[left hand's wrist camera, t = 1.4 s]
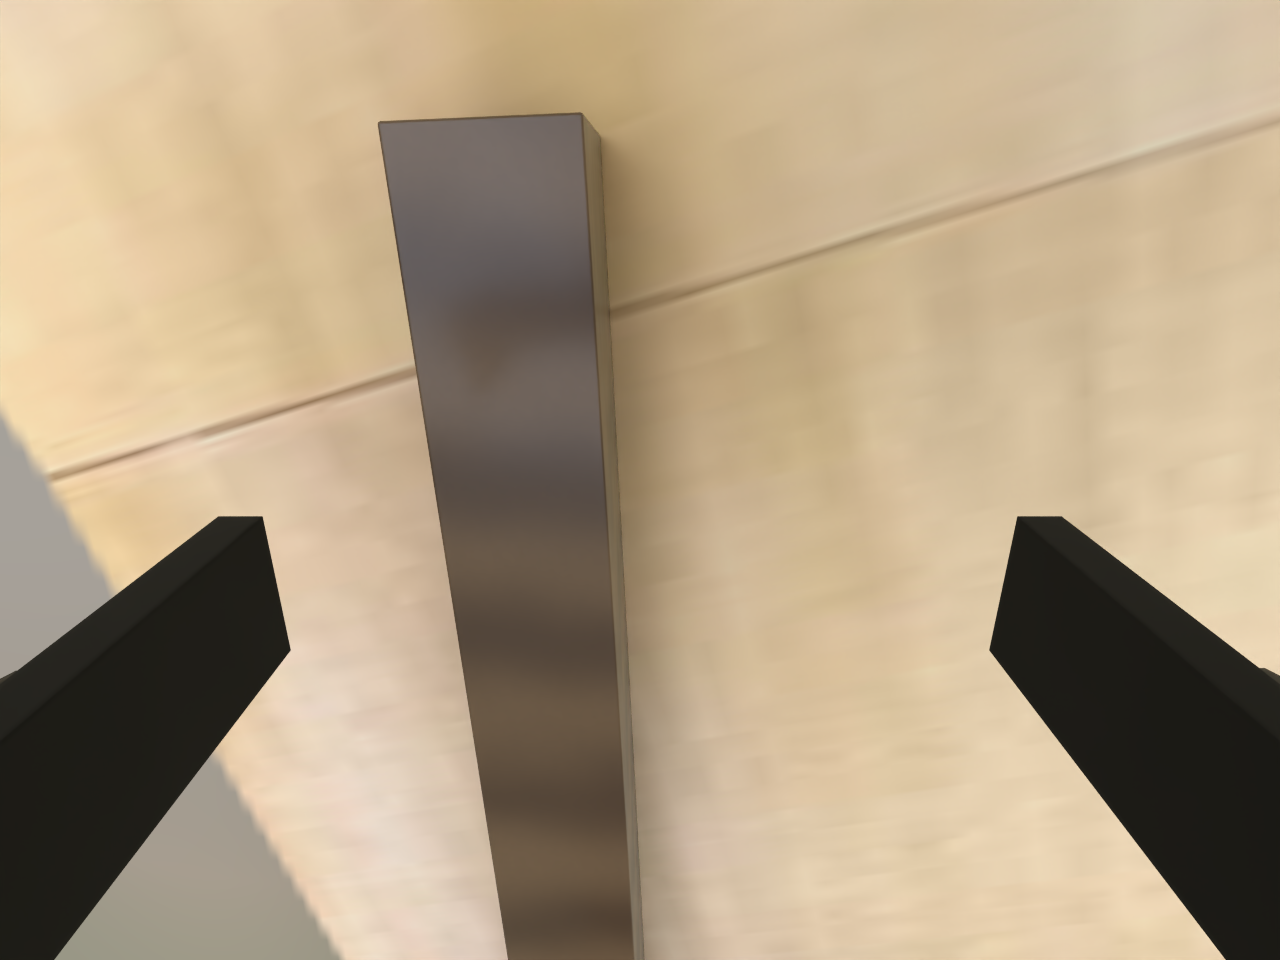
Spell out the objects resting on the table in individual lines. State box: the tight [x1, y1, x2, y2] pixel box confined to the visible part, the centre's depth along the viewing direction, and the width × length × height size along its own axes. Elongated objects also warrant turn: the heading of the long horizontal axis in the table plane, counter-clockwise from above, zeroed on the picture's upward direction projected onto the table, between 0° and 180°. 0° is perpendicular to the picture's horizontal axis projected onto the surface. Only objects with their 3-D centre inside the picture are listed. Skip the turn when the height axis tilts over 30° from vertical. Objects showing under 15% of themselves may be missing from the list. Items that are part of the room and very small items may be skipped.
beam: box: [378, 113, 644, 960], centre depth 35 cm, size 69×5×8 cm, turn 2°
